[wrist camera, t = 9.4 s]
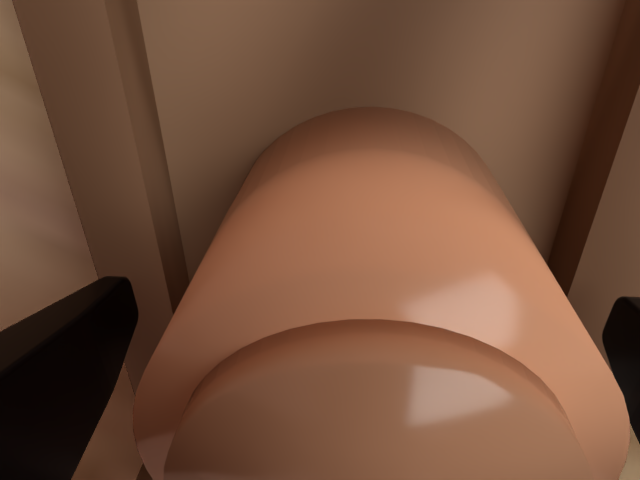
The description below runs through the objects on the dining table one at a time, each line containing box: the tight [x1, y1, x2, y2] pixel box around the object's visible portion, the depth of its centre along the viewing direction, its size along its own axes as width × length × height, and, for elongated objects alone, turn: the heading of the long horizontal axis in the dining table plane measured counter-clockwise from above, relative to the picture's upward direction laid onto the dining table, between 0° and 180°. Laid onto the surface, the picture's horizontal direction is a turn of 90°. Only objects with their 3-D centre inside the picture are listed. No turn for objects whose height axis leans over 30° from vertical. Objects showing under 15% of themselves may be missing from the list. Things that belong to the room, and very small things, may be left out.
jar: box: [133, 107, 630, 480], centre depth 8 cm, size 6×6×6 cm
